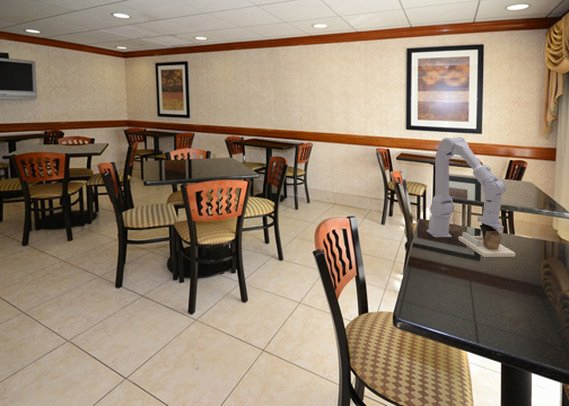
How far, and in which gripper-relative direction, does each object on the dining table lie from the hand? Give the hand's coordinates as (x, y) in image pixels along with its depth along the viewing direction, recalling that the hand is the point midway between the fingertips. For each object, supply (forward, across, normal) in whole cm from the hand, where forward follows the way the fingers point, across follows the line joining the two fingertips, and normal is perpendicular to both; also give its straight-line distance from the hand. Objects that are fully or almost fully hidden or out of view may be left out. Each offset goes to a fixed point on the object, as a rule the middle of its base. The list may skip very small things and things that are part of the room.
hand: (487, 242), depth 142 cm
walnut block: (0, -3, 0) cm, 3 cm away
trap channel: (+2, +2, 0) cm, 3 cm away
